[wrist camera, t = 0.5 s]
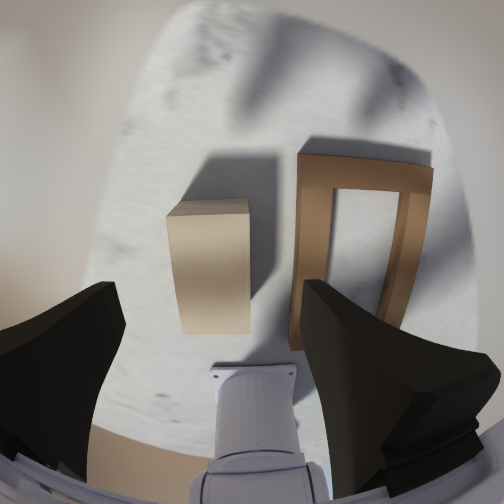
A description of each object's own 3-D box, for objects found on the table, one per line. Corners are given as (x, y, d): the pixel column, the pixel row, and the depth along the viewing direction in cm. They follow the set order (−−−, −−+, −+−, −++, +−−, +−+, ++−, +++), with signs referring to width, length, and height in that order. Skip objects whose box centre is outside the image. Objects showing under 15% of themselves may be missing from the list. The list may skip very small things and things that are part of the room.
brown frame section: (389, 328, 23) (396, 337, 22) (288, 339, 23) (290, 351, 21) (422, 165, 17) (433, 168, 16) (297, 153, 17) (302, 154, 15)
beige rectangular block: (248, 301, 21) (250, 333, 18) (191, 301, 21) (183, 333, 17) (247, 198, 18) (249, 213, 14) (180, 200, 18) (165, 216, 14)
